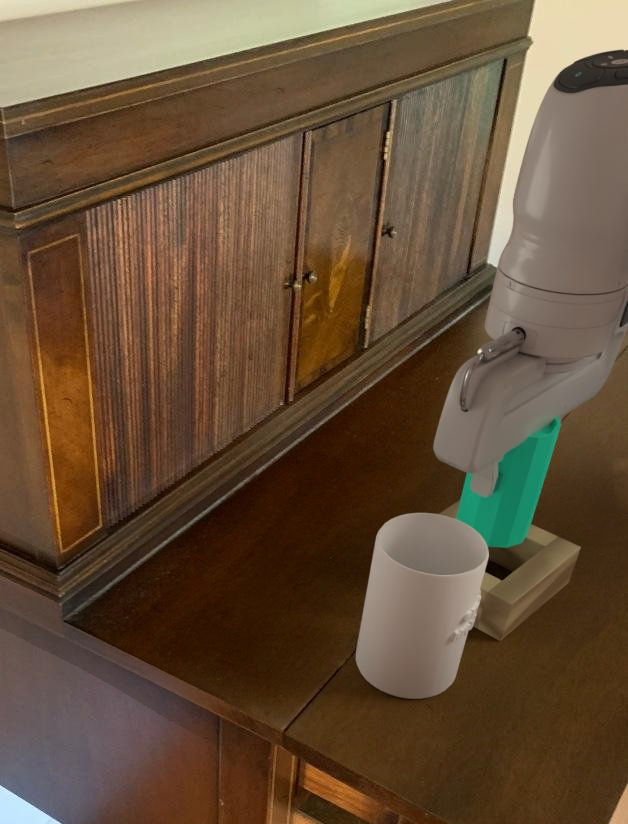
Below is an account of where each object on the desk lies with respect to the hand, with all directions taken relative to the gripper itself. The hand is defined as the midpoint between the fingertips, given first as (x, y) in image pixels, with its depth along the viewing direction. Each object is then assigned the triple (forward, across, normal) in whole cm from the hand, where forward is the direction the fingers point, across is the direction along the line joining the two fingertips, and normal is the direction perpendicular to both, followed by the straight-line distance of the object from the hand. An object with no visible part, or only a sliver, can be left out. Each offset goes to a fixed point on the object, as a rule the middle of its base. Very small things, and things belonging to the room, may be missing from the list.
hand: (506, 476), depth 75 cm
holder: (+11, 0, 0) cm, 11 cm away
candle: (+5, 0, 0) cm, 5 cm away
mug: (+11, -12, -1) cm, 16 cm away
